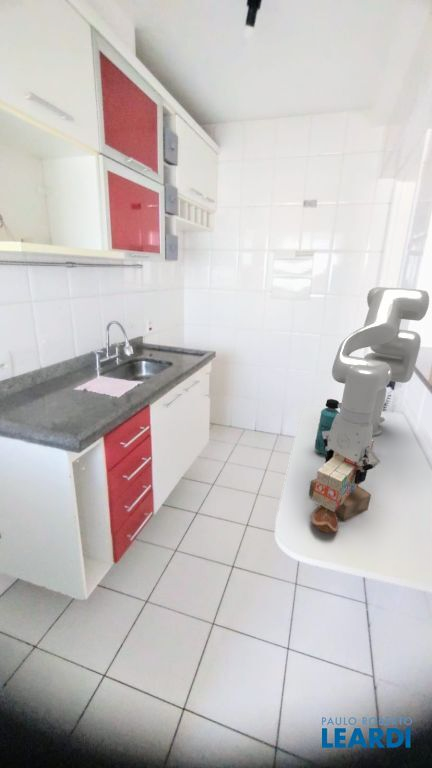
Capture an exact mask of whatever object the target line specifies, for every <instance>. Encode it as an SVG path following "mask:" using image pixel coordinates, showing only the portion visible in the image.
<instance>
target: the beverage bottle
mask: <svg viewBox="0 0 432 768" xmlns="http://www.w3.org/2000/svg"><path fill="white" fill-rule="evenodd" d="M339 403H340V401H339V400H337V399H333V398H328V399H327V400H326V403H325V408H323V409H321V411H320V415H319V417H320V418H319V423H318V426H317V430H316V437H315V441H314V449H315V451H316V452H318V453H320V454H324V455H326V453H327V451H326V450H325V447H326V446H325V444H324V442H323V440H324V438H323V435H322V432H323V431H328V430H331V426H332V423H333V421H334V419H335V417H336V415H337V414H338V413H340V411H339V410H338V409H340V408H339V407H338V404H339Z"/></svg>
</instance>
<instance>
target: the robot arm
mask: <svg viewBox="0 0 432 768" xmlns="http://www.w3.org/2000/svg"><path fill="white" fill-rule="evenodd" d="M366 302H367V306H368V311H367V314H366V318H365V320H364V324H363V326H362V327H359V329H357V330H354V331H353V332H351V333H350V334H349V335H348V336H347V337H346V338H344V340H342V342H341V343H340V344H339V348H338V350H337V352H336V354H335V358H334V361H333V364H332V368H331V375H332V378H333V380H334V381H335V382H338V383H340V384H344V388H343V393H342V397H341V398H342V399H341V402H339V404H338V407H339V408H338V409H339V413H338V414H337V415H336V417H335V419H334V421H333V423H332V426H331V430H328V431H323V432H322V435H323V438H324V440H323V442H324V444H325V446H326V447H325V450H326V451H327V453H326V454H325V461H324V464H325V463H326V462H328V461H329V460H330V459H331V458H332V457H333V454H334V450H335V447H336V450H335V452H337V453H338V454H340V455H342V456H343V457H345V458H347V459H348V460H350V461H352V462H355V463H357V465H358V468H359V469H358V470H357V471H356V476H355V480H354V483H355V484H358V483H360V484H361V483H363V482H365V480H366V478H367V473H368V471H370V470H372V469H375V468H376V466H378V465H379V464H380V463H381V459H380V458H379V457H378V456H377V455H376V454H375V453H374V451H373V449H372V450H371V444H372V439H373V437H375V436H376V437H377V436H379V435H381V434H382V431H383V429H382V428H381V426H380V424H381V423H383V422H385V421H386V420H385V418H384V417H383V416H382V412H383V408H384V403H385V399H386V395H387V388H386V387H387V386H388V385H389V384H390V382H395V383H403V384H404V383H407V382H410V381H411V379H412V377H413V375H414V371H415V369H416V368H415V367H416V364H417V361H418V355H419V352H420V348H421V342H422V341H421V335H420V334H419V333H418V332H417V331H412V330H405V329H400V328H401V327H400V326H401V322H402V320H406V321H407V320H409V321H418V322H419V321H422V320H423V318H425V316H426V314H427V311H428V308H429V306H430V296H429V293H428V292H427V291H426V290H422V289H414V288H413V289H412V288H403V287H402V288H400V287H383V286H382V287H381V286H380V287H377V286H376V287H373V288H371V289H370V290H368V293H367V298H366ZM364 348H365V349H366V348H370V350H371V352H370V353H367V354H366V355H365V356H364V357H357V356H352V355H351V354H352V353H354V352H356V351H358V350H360V349H364ZM350 355H351V356H350ZM368 457H369V461H370V462H369V463H368V460H367V459H368ZM362 461H363V464H364V466H363V464H362Z"/></svg>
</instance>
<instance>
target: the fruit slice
mask: <svg viewBox="0 0 432 768" xmlns="http://www.w3.org/2000/svg"><path fill="white" fill-rule="evenodd" d="M310 521H311V522H312V525H314V527H316V528H317V529H318V530H320V531H322V532H325V533H331V534H332V533H333V534H334V533H336V532H338V531H339V527H340V525H339V519H338V518H337V516H336V514H335V512H333V511H331V510H329V509H327V508H325V507H323V506H322V505H320V504H319V506H318V507H316V508H315V509H314V510H313V512H312V514H311V516H310Z"/></svg>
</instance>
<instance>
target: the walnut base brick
mask: <svg viewBox="0 0 432 768" xmlns="http://www.w3.org/2000/svg"><path fill="white" fill-rule="evenodd" d="M315 481H316V478H314V479H312V480H311V481H310V487H309V490H308V491H309V493H308V496H309V497H310V498H311V499H312V498H313V492H314V486H315ZM371 497H372V494H371V492H368V491H367V490H365V489H364V488H363V487H360V486H359V485H358V486H357V487H356V488H355V489H354V490H353V491H352V492H351V494H350V495H349V496H348V497H347V499H346V500H345V501H344V502H343V503H342V504H341V505H340V506H339V507H338V508H337V510H336V511H335V514H336V516H337V519H338V520H339V521H341V522H342V523H344V522H346V521H348V520H350V519H352V518H354V517H357V516H358V515H360V514H362V513H364V512H366V511H368V510H369V507H370V501H371Z"/></svg>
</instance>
